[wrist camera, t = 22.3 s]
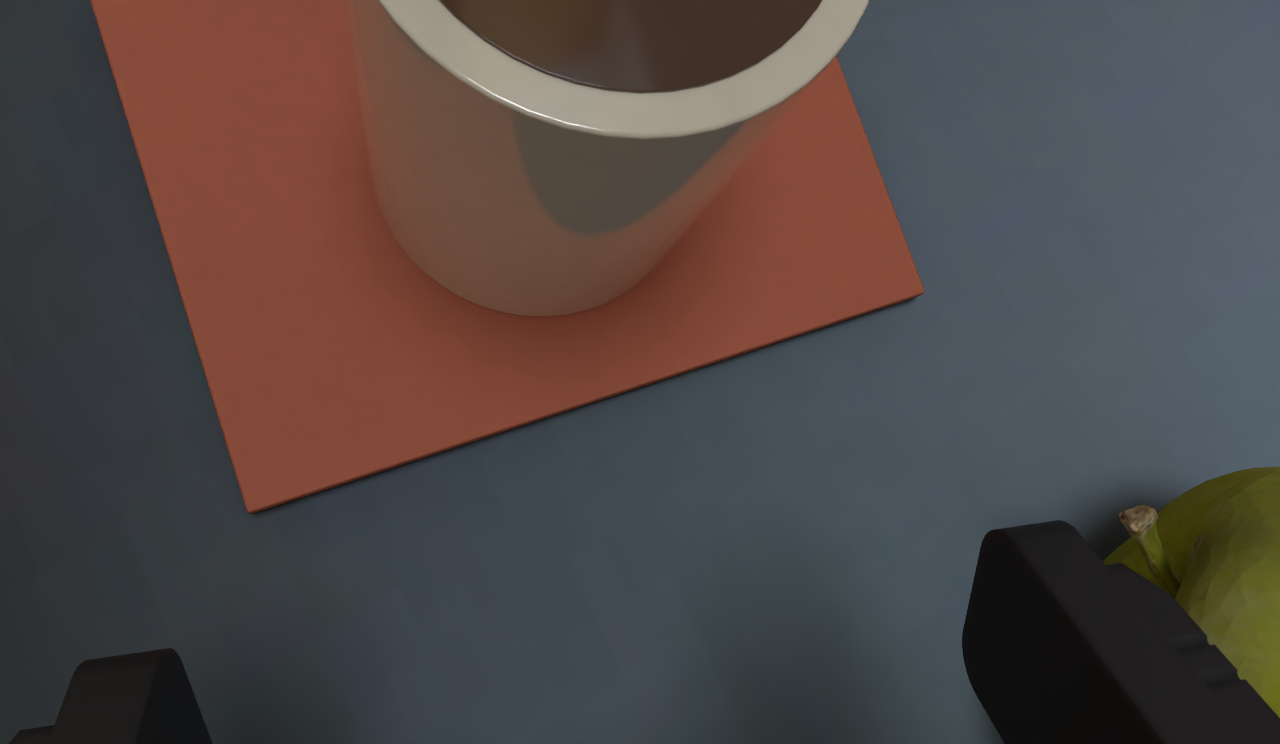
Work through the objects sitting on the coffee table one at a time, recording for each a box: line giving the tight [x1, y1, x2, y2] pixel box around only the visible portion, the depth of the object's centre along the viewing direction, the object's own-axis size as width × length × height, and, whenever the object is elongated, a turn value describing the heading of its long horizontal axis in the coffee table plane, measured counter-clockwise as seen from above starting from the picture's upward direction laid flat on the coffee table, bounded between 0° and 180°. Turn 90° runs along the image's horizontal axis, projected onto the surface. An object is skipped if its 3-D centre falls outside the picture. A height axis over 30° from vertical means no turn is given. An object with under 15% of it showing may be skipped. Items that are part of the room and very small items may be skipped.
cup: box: [344, 0, 870, 317], centre depth 16 cm, size 6×6×9 cm
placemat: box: [90, 0, 925, 513], centre depth 20 cm, size 14×10×1 cm
